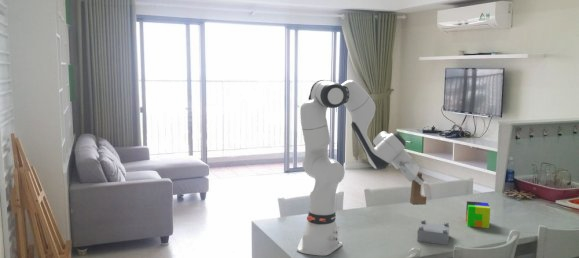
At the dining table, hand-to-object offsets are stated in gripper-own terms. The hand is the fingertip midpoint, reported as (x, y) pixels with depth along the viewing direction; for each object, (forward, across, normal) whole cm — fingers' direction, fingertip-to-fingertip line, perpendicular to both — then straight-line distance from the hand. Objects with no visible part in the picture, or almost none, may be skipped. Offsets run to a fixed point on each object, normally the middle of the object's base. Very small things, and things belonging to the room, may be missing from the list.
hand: (422, 182), depth 222 cm
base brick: (+22, -2, +14) cm, 26 cm away
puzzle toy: (+36, +28, +1) cm, 45 cm away
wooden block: (+6, +1, +9) cm, 11 cm away
